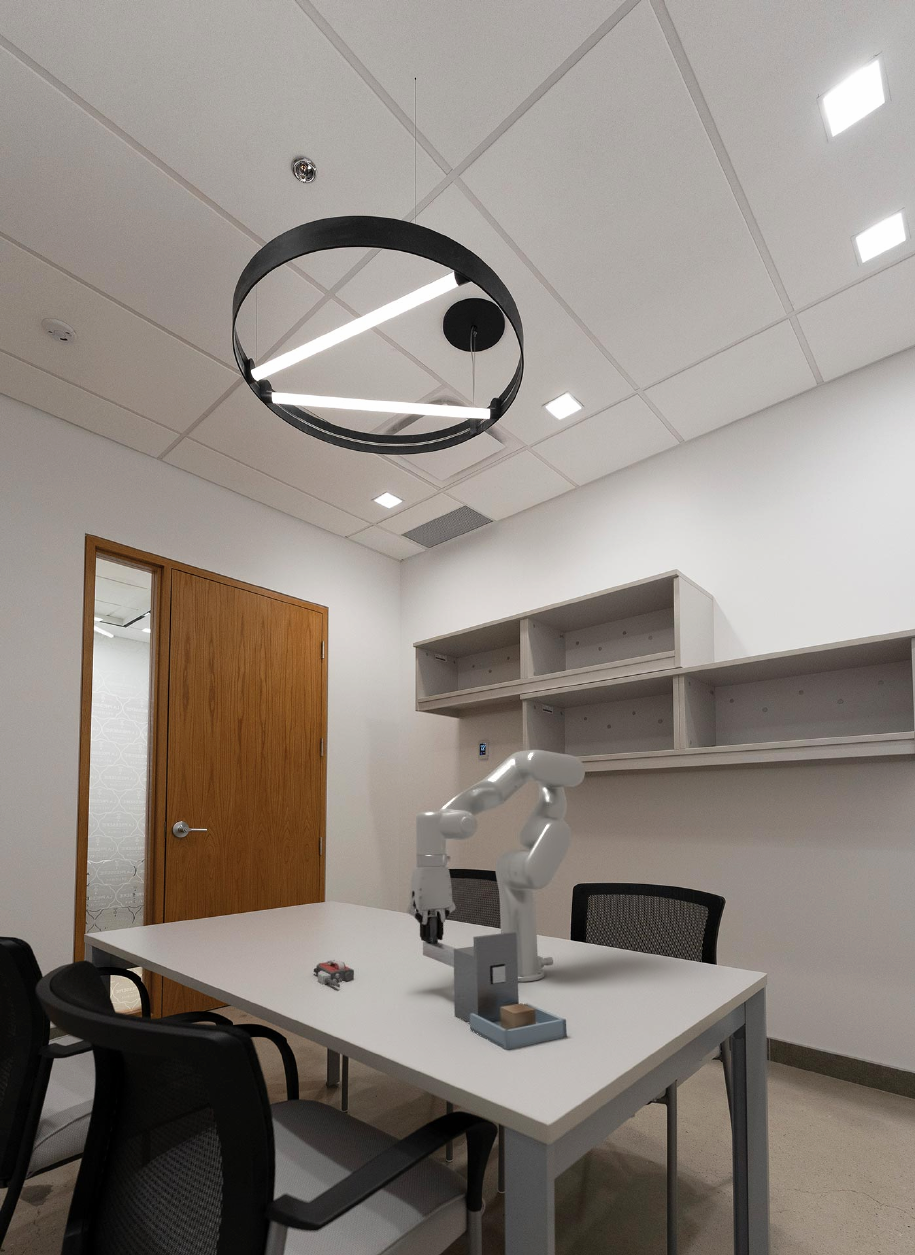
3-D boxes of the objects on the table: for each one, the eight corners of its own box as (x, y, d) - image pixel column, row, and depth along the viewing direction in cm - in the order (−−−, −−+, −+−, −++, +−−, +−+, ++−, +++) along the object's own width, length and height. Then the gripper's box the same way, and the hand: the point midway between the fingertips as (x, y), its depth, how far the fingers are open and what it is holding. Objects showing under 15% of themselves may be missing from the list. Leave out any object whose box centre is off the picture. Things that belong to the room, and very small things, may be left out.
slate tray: (527, 1019, 149) (527, 1003, 150) (566, 1036, 138) (566, 1019, 139) (470, 1030, 143) (469, 1013, 143) (506, 1049, 131) (505, 1031, 132)
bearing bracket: (494, 1008, 157) (492, 926, 161) (519, 1020, 149) (516, 932, 153) (454, 1015, 152) (453, 930, 156) (478, 1028, 144) (476, 937, 148)
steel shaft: (433, 953, 176) (433, 914, 178) (505, 981, 148) (504, 935, 150) (422, 954, 175) (422, 916, 177) (493, 983, 147) (492, 936, 149)
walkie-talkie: (305, 976, 190) (334, 993, 173) (306, 958, 191) (334, 973, 174) (336, 972, 194) (367, 987, 178) (337, 954, 196) (367, 968, 179)
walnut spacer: (535, 1009, 140) (536, 1031, 139) (521, 1003, 144) (521, 1025, 144) (514, 1013, 138) (514, 1036, 137) (500, 1007, 142) (500, 1029, 141)
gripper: (452, 859, 186) (453, 934, 182) (395, 862, 178) (395, 941, 174) (466, 861, 180) (468, 939, 176) (408, 864, 172) (408, 946, 168)
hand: (431, 939), depth 175 cm, fingers closed on steel shaft, 3 cm apart
